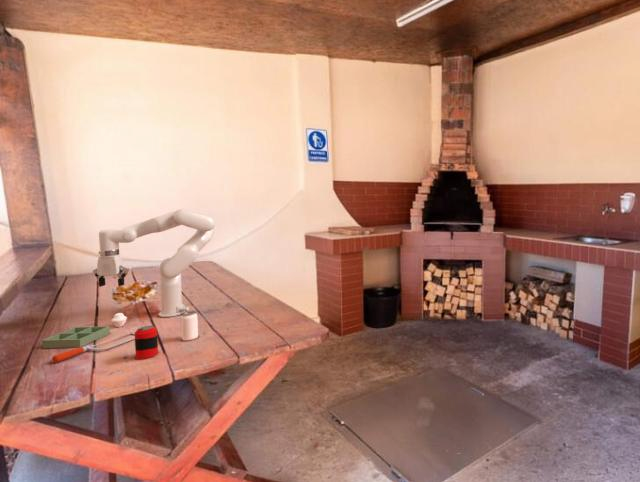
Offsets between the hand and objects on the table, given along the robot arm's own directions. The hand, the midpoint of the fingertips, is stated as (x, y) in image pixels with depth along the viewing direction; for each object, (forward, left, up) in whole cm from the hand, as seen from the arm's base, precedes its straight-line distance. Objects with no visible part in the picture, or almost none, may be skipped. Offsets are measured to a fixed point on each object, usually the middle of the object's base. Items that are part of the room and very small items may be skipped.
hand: (111, 285), depth 203 cm
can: (-52, +22, -21) cm, 61 cm away
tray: (0, +21, -20) cm, 30 cm away
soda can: (-45, +40, -21) cm, 64 cm away
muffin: (-5, +3, -21) cm, 22 cm away
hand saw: (-19, +30, -21) cm, 42 cm away
